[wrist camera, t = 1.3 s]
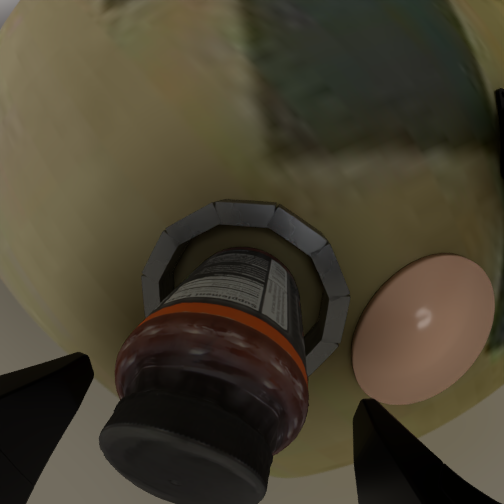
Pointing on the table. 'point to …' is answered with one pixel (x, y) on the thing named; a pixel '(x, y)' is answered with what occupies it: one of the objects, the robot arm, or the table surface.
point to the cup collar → (283, 223)
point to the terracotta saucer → (423, 329)
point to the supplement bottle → (212, 384)
